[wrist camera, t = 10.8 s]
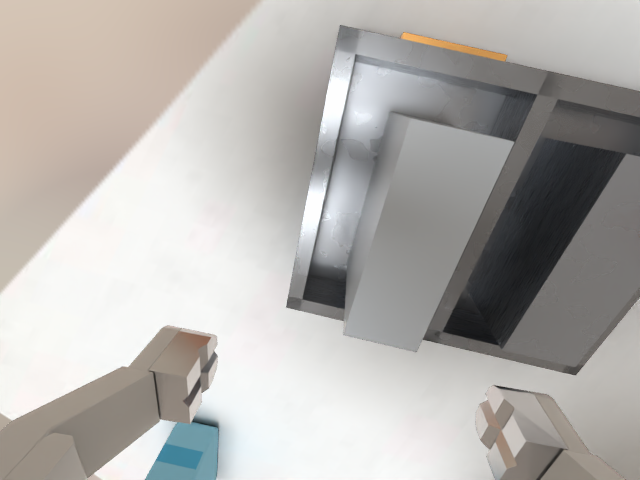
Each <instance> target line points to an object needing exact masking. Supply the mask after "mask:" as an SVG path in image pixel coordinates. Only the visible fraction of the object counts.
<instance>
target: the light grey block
mask: <svg viewBox="0 0 640 480" xmlns="http://www.w3.org/2000/svg"><path fill="white" fill-rule="evenodd" d="M513 144H514V142H513V141H510V140H506V139H502V138H498V137H494V136H490V135H487V134H483V133H479V132H475V131H471V130H467V129H463V128H460V127H456V126H452V125H447V124H443V123H438V122H434V121H430V120H425V119H421V118H416V117H412V116H407V115H403V114H398V113H394V112H389V116H388V119H387V123H386V126H385V130H384V133H383V137H382V141H381V144H380V148H379V151H378V155H377V158H376V162H375V166H374V169H373V173H372V176H371V180H370V183H369V187H368V191H367V194H366V198H365V201H364V205H363V208H362V212H361V216H360V219H359V223H358V226H357V230H356V233H355V237H354V241H353V244H352V248H351V251H350V255H349V258H348V262H347V278H346V295H345V313H344V331H343V335H346V336H350V337H354V338H358V339H362V340H367V341H371V342H375V343H379V344H384V345H388V346H392V347H396V348H401V349H405V350H409V351H413V352H417V350H418V348H419V346H420V343H421V341H422V339H423V337H424V335H425V333H426V331H427V328H428V326H429V324H430V322H431V320H432V318H433V316H434V313H435V311H436V309H437V307H438V305H439V303H440V301H441V298H442V296H443V294H444V292H445V290H446V288H447V286H448V283H449V281H450V279H451V277H452V275H453V273H454V271H455V268H456V266H457V264H458V262H459V260H460V258H461V256H462V253H463V251H464V249H465V247H466V245H467V243H468V241H469V239H470V236H471V234H472V232H473V230H474V228H475V226H476V224H477V221H478V219H479V217H480V215H481V213H482V211H483V209H484V206H485V204H486V202H487V200H488V198H489V196H490V194H491V191H492V189H493V187H494V185H495V183H496V181H497V179H498V176H499V174H500V172H501V170H502V168H503V166H504V164H505V161H506V159H507V157H508V155H509V153H510V151H511V149H512V146H513Z"/></svg>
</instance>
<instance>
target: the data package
mask: <svg viewBox="0 0 640 480" xmlns="http://www.w3.org/2000/svg"><path fill="white" fill-rule="evenodd" d="M217 455H218V428H217V427H213V426H208V425H204V424H199V423H195V422H191V424H186V423H180V422H178V423H177V424H176V425H175V427H174V428H173V430H172V432H171V434H170V436H169V437H168V439H167V441H166V443H165V445H164V446H163V448H162V450H161V452H160V454H159V455H158V457H157V459H156V461H155V463H154V464H153V466H152V468H151V470H150V471H149V473H148V475H147V477H146V479H145V480H216V476H217Z"/></svg>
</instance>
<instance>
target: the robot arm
mask: <svg viewBox="0 0 640 480" xmlns="http://www.w3.org/2000/svg"><path fill="white" fill-rule="evenodd" d="M216 346H217V336H216V335H213V334H209V333H204V332H199V331H194V330H189V329H185V328H178V327H174V326H169V325H167V326H165V327H163V328H162V329H161V330H160V331H159V332H158V333H157V334H156V336H155V337H154V338H153V339H152V340H151V341H150V343H149V344H148V345H147V346H146V347H145V348H144V349H143V351H142V352H141V353H140V354H139V355H138V356H137V358H136V359H135V360H134V361H133V362H132V363H131V365H130V366H129V367H121V368H119V369H117V370H115V371H113V372H111V373H109V374H106V375H104V376H102V377H100V378H98V379H96V380H94V381H92V382H90V383H88V384H86V385H84V386H82V387H80V388H78V389H76V390H74V391H72V392H70V393H68V394H66V395H64V396H62V397H60V398H58V399H56V400H54V401H52V402H50V403H48V404H45V405H43V406H41V407H39V408H37V409H35V410H33V411H31V412H29V413H27V414H25V415H23V416H21V417H19V418H17V419H15V420H13V421H11V422H10V423H9V424H8V425H7V426H6V427H5V428H3V429H2V430H1V431H0V480H88V479H87V478H88V477H90V476H91V475H92V474H94V473H95V472H96V471H97V470H99V469H100V468H101V467H102V466H104V465H105V464H106V463H108V462H109V461H110V460H111V459H113V458H114V457H115V456H116V455H118V454H119V453H120V452H121V451H123V450H124V449H125V448H127V447H128V446H129V445H130V444H132V443H133V442H134V441H135V440H137V439H138V438H139V437H140V436H142V435H143V434H144V433H145V432H147V431H148V430H149V429H151V428H152V427H153V426H154V425H156V424H157V423H158V422H159V421H160V419H162V420H168V421H174V422H180V423H186V424H191V422H192V420H193V418H194V416H195V414H196V412H197V410H198V408H199V406H200V405H201V403H202V395H201V393H203V392H204V391H206V390H207V389H209V387H210V385H211V383H212V381H213V378H214V375H215V372H216V369H217V363H218V356H217V354H216V353H215V352H214V350H215V348H216ZM486 397H487V399H488V400H487V401H485V402H483V403H481V404H480V405H479V407H478V409H477V411H476V421H475V423H476V428H477V432H478V435H479V438H480V440H481V441H482V442H483V443H484V444H485V446H486V447H487V448H488V449H489V451H488V454H487V459H488V462H489V465H490V467H491V470H492V473H493V475H494V478H495V480H626V479H625V478H624V477H622V476H621V475H620V474H619V473H617V472H616V471H615V470H614V469H613V468H611V467H610V466H609V465H608V464H606V463H605V462H604V461H603V460H602V459H600V458H599V457H598V456H595V455H591V454H590V452H589V451H588V449H587V448H586V446H585V445H584V443H583V442H582V440H581V439H580V437H579V436H578V435H577V433H576V432H575V430H574V429H573V427H572V426H571V424H570V423H569V421H568V420H567V418H566V417H565V415H564V414H563V412H562V411H561V409H560V408H559V406H558V405H557V404H556V402H555V401H554V399H553V398H552V397H550V396H549V395H547V394H541V393H536V392H530V391H529V392H528V391H524V390H518V389H513V388H507V387H501V386H495V385H492V386H491V387H489V388H488V390H487V392H486Z"/></svg>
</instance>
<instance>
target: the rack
mask: <svg viewBox="0 0 640 480" xmlns="http://www.w3.org/2000/svg"><path fill="white" fill-rule="evenodd" d="M506 58H507V55H505V54H500V53H495V52H491V51H486V50H482V49H477V48H473V47H468V46H464V45H459V44H455V43H450V42H446V41H441V40H437V39H432V38H428V37H423V36H419V35H414V34H410V33H405V32H403V34H402V35H401V37H400V38H396V37H392V36H387V35H383V34H378V33H374V32H369V31H365V30H360V29H356V28H351V27H347V26H342V25H340V28H339V33H338V38H337V44H336V49H335V54H334V59H333V64H332V70H331V75H330V80H329V85H328V91H327V96H326V101H325V106H324V112H323V117H322V122H321V127H320V133H319V138H318V143H317V148H316V154H315V159H314V164H313V169H312V175H311V180H310V185H309V190H308V196H307V201H306V206H305V211H304V216H303V222H302V227H301V232H300V237H299V243H298V248H297V253H296V258H295V264H294V269H293V274H292V279H291V285H290V290H289V295H288V300H287V306H286V307H287V308H291V309H295V310H299V311H304V312H308V313H312V314H316V315H321V316H325V317H329V318H333V319H338V320H342V321H344V313H345V295H346V278H347V262H348V258H349V255H350V251H351V248H352V244H353V241H354V237H355V233H356V230H357V226H358V223H359V219H360V216H361V212H362V208H363V205H364V201H365V198H366V194H367V191H368V187H369V183H370V180H371V176H372V173H373V169H374V166H375V162H376V158H377V155H378V151H379V148H380V144H381V141H382V137H383V133H384V130H385V126H386V123H387V119H388V116H389V112H394V113H398V114H403V115H407V116H412V117H416V118H421V119H425V120H430V121H434V122H438V123H443V124H447V125H452V126H456V127H460V128H463V129H467V130H471V131H475V132H479V133H483V134H487V135H490V136H494V137H498V138H502V139H506V140H510V141H513V142H514V144H513V146H512V149H511V151H510V153H509V155H508V157H507V159H506V161H505V164H504V166H503V168H502V170H501V172H500V174H499V176H498V179H497V181H496V183H495V185H494V187H493V189H492V191H491V194H490V196H489V198H488V200H487V202H486V204H485V206H484V209H483V211H482V213H481V215H480V217H479V219H478V221H477V224H476V226H475V228H474V230H473V232H472V234H471V236H470V239H469V241H468V243H467V245H466V247H465V249H464V251H463V253H462V256H461V258H460V260H459V262H458V264H457V266H456V268H455V271H454V273H453V275H452V277H451V279H450V281H449V283H448V286H447V288H446V290H445V292H444V294H443V296H442V298H441V301H440V303H439V305H438V307H437V309H436V311H435V313H434V316H433V318H432V320H431V322H430V324H429V326H428V328H427V331H426V333H425V335H424V337H423V340H427V341H431V342H436V343H440V344H444V345H448V346H453V347H457V348H461V349H465V350H470V351H474V352H478V353H482V354H487V355H491V356H495V357H499V358H504V359H508V360H512V361H516V362H521V363H525V364H529V365H533V366H538V367H542V368H546V369H550V370H555V371H559V372H563V373H567V374H572V375H576V374H577V373H578V372H579V371H580V369H581V368H582V367H583V366H584V364H585V363H586V362H587V361H588V360H589V358H590V357H591V356H592V355H593V354H594V352H595V351H596V350H597V349H598V347H599V346H600V345H601V344H602V343H603V341H604V340H605V339H606V338H607V336H608V335H609V334H610V333H611V332H612V330H613V329H614V328H615V327H616V325H617V324H618V323H619V322H620V321H621V319H622V318H623V317H624V316H625V314H626V313H627V312H628V311H629V310H630V308H631V307H632V306H633V305H634V304H635V302H636V301H637V300H638V299H639V297H640V91H635V90H631V89H626V88H622V87H617V86H613V85H608V84H604V83H599V82H595V81H590V80H586V79H581V78H577V77H572V76H568V75H563V74H559V73H554V72H550V71H545V70H541V69H536V68H532V67H527V66H523V65H518V64H514V63H509V62H505V60H506Z"/></svg>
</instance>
